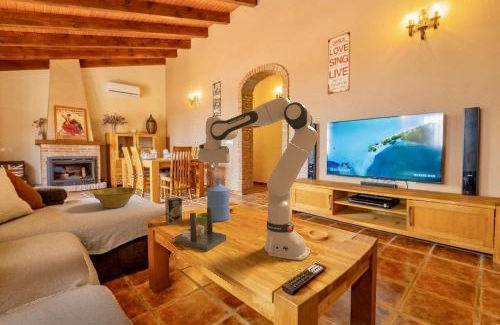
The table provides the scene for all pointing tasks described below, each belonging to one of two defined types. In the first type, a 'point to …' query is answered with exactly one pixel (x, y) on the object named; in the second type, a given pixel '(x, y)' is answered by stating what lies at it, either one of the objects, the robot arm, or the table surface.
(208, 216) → the cord post right
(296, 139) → the robot arm
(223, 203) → the water jug
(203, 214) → the plant pot
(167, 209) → the coffee box
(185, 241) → the dark grey base plate
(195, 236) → the cord post left
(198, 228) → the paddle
